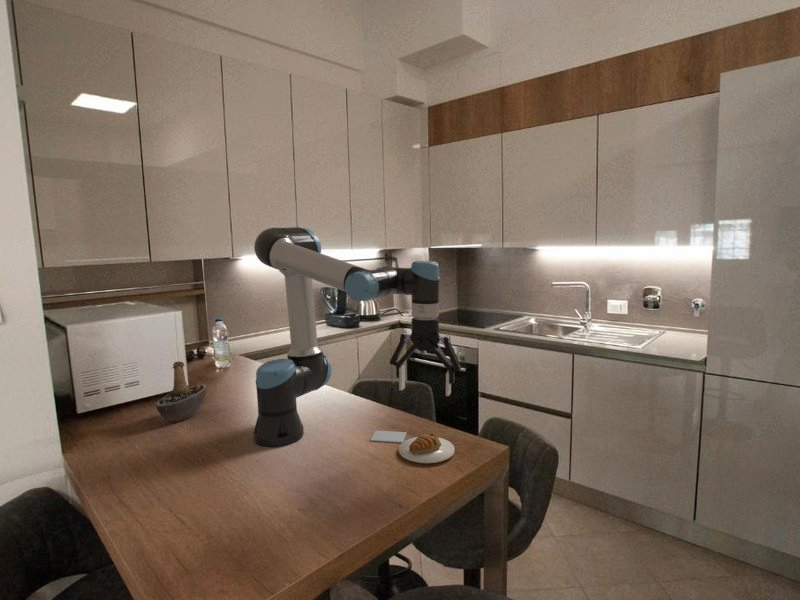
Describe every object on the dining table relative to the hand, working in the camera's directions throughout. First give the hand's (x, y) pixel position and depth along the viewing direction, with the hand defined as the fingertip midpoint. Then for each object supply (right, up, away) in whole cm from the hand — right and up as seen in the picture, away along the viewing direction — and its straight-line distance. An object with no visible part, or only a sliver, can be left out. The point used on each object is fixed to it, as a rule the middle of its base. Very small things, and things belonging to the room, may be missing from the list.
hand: (424, 391), depth 134 cm
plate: (+1, -18, +2) cm, 18 cm away
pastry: (0, -17, +2) cm, 17 cm away
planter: (-82, -15, +32) cm, 90 cm away
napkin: (-10, -16, +13) cm, 23 cm away
